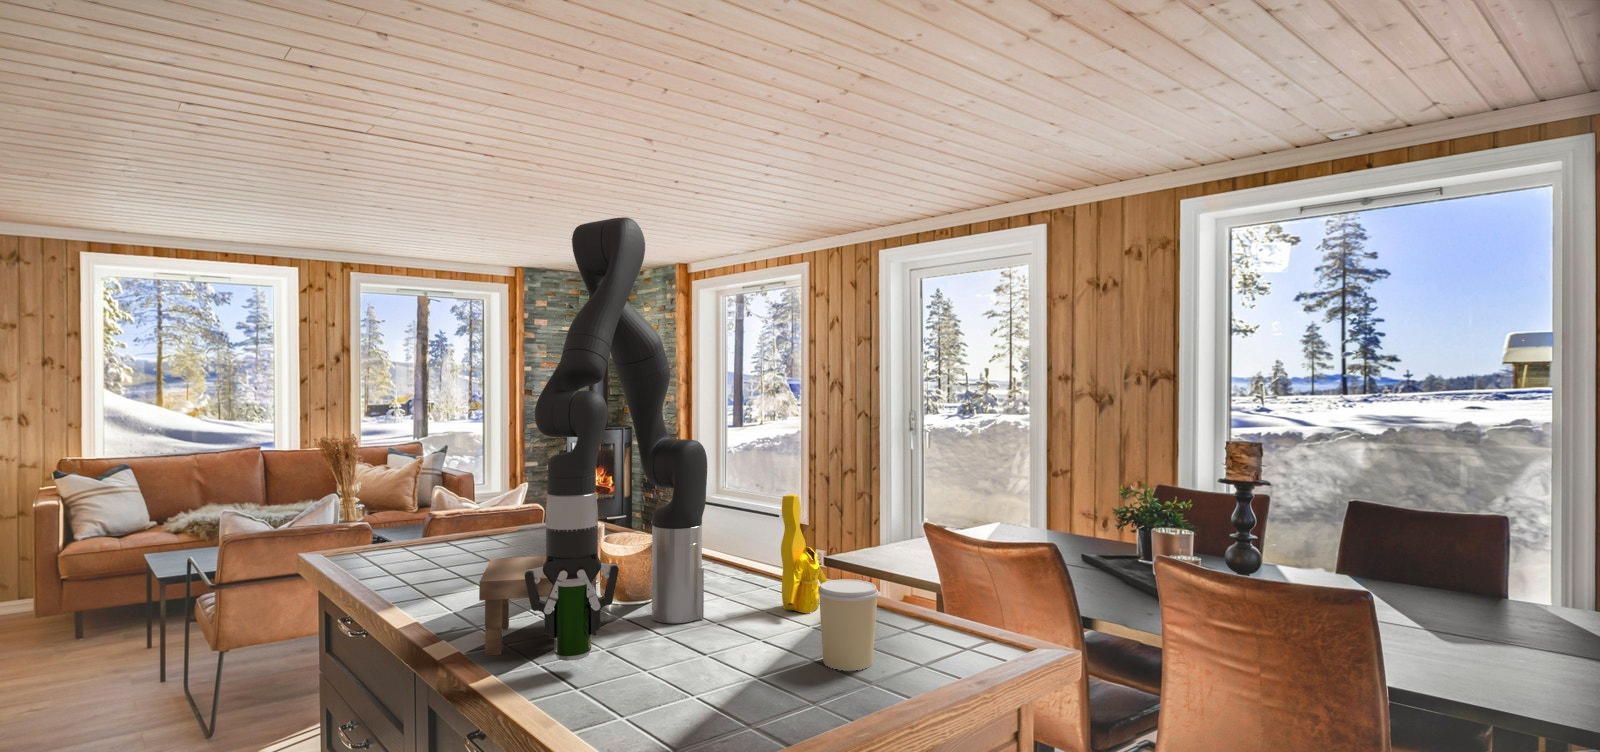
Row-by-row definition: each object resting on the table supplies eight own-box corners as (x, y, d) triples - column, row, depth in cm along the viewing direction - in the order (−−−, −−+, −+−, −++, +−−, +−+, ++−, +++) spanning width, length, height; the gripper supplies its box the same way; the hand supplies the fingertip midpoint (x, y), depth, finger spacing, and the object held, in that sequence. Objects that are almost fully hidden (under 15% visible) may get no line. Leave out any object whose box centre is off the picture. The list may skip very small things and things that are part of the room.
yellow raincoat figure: (800, 623, 149) (800, 502, 150) (761, 618, 153) (762, 500, 153) (836, 600, 165) (836, 491, 166) (801, 596, 169) (801, 489, 169)
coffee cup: (884, 656, 131) (884, 581, 131) (869, 676, 122) (869, 595, 122) (828, 650, 134) (828, 576, 134) (810, 668, 125) (810, 590, 125)
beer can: (560, 663, 119) (560, 581, 119) (549, 653, 124) (549, 574, 124) (596, 656, 122) (596, 576, 122) (584, 646, 127) (583, 569, 127)
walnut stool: (593, 618, 152) (594, 553, 152) (595, 648, 134) (596, 575, 135) (490, 625, 147) (491, 558, 147) (478, 657, 130) (479, 581, 130)
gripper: (619, 516, 129) (619, 624, 129) (523, 521, 125) (523, 632, 125) (622, 524, 121) (622, 639, 121) (520, 530, 118) (520, 647, 117)
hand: (572, 635), depth 123 cm, fingers closed on beer can, 5 cm apart
